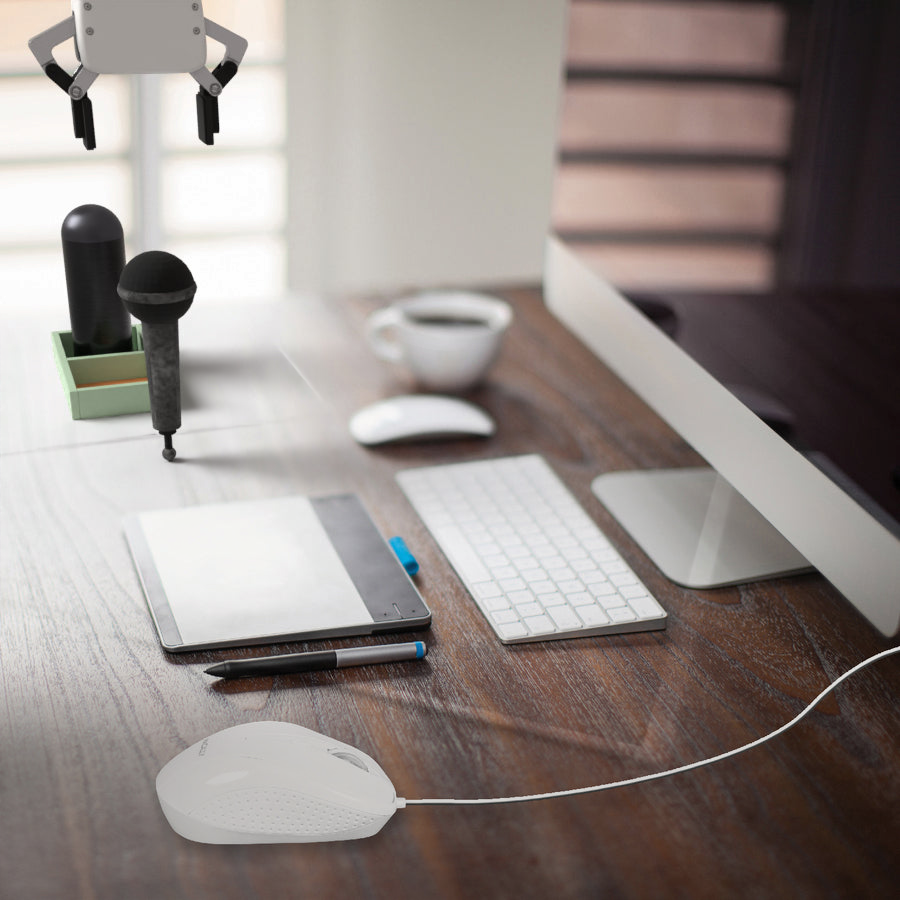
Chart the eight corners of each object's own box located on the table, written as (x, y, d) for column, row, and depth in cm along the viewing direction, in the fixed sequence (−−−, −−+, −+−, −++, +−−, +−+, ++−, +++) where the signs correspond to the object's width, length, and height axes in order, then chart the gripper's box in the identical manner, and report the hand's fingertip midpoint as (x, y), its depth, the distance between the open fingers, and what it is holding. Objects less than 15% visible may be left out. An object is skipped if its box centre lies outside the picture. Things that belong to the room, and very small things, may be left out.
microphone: (117, 468, 105) (97, 256, 97) (157, 440, 111) (141, 238, 103) (182, 480, 104) (168, 265, 95) (219, 451, 110) (209, 247, 101)
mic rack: (73, 424, 114) (69, 391, 113) (54, 360, 130) (50, 331, 129) (174, 412, 118) (172, 381, 116) (144, 351, 134) (141, 323, 133)
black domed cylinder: (78, 379, 124) (61, 213, 116) (72, 360, 129) (55, 199, 122) (138, 373, 126) (125, 209, 119) (130, 354, 132) (116, 196, 124)
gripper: (230, -77, 95) (240, 133, 102) (9, -84, 88) (36, 141, 96) (252, -76, 88) (261, 148, 96) (16, -83, 82) (44, 158, 89)
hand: (149, 144), depth 96 cm, fingers open, 9 cm apart
